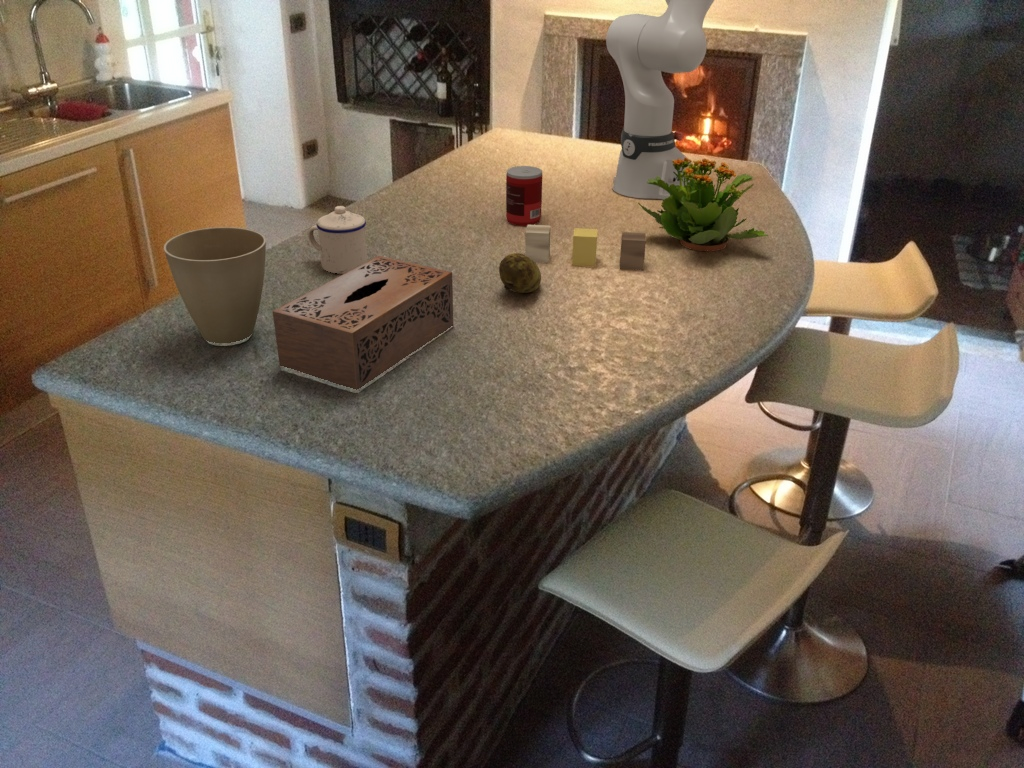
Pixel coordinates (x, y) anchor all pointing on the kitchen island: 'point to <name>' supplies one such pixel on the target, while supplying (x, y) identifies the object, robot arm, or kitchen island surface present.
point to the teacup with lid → (340, 240)
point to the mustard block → (584, 247)
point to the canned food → (523, 195)
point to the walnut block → (632, 251)
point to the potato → (519, 273)
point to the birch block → (537, 243)
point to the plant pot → (219, 279)
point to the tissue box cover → (364, 320)
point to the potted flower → (701, 206)
